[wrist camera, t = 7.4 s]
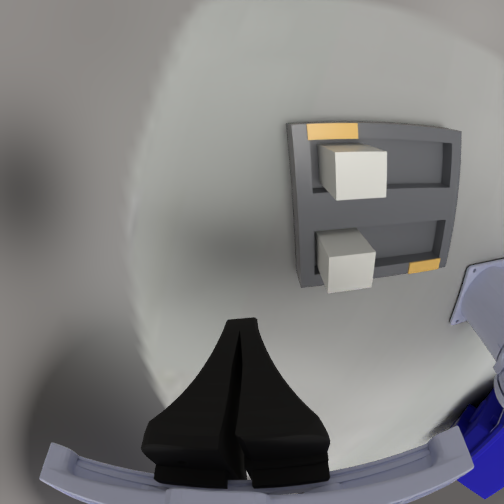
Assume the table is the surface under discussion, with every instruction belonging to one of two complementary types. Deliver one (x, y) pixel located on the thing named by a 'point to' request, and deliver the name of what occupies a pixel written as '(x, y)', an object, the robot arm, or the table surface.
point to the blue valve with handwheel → (484, 445)
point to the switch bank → (379, 209)
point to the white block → (344, 259)
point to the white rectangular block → (352, 170)
